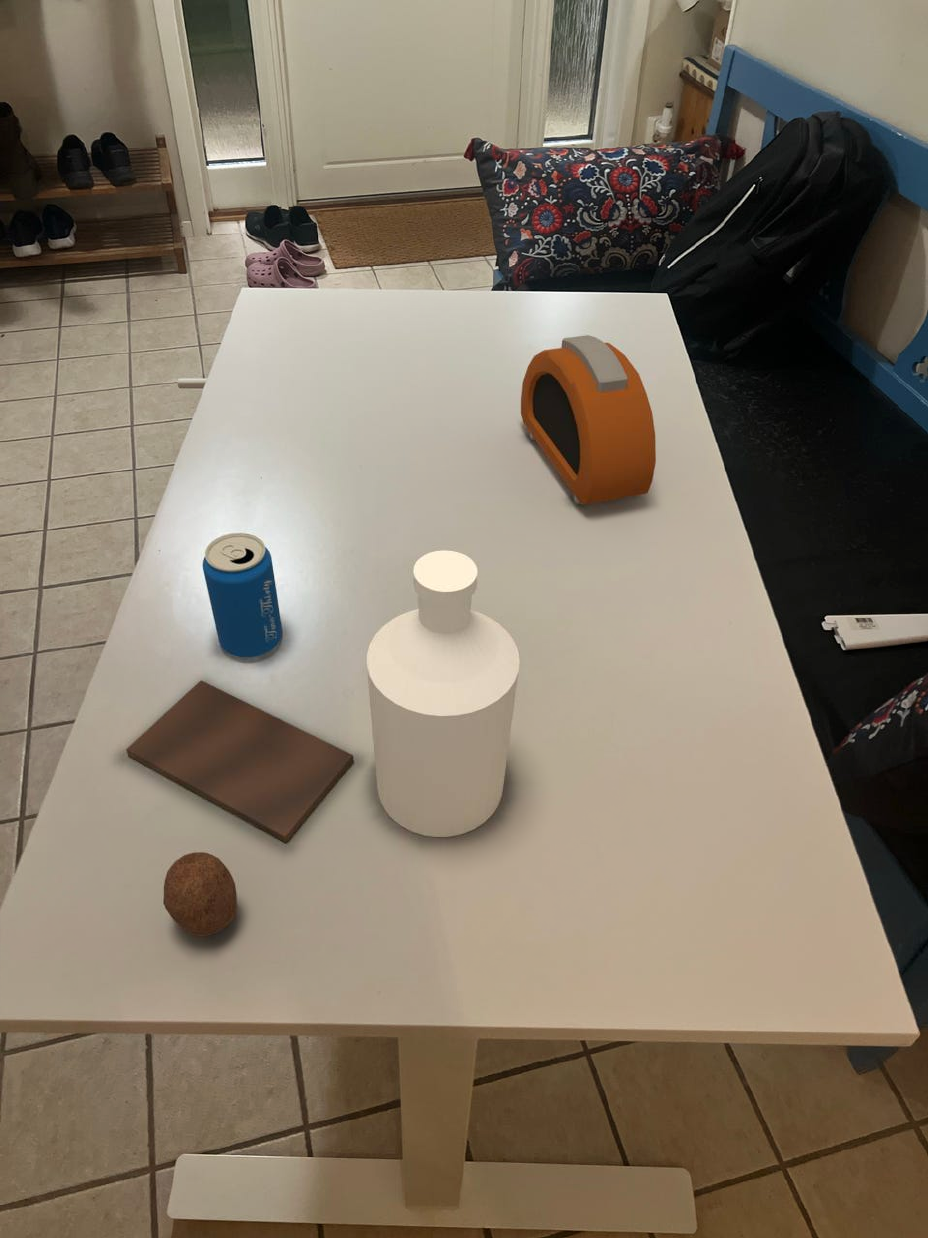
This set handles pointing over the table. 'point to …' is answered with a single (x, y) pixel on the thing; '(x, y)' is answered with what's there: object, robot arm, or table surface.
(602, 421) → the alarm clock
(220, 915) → the coconut
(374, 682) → the bottle
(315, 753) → the walnut board
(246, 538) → the beverage can
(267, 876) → the table surface
